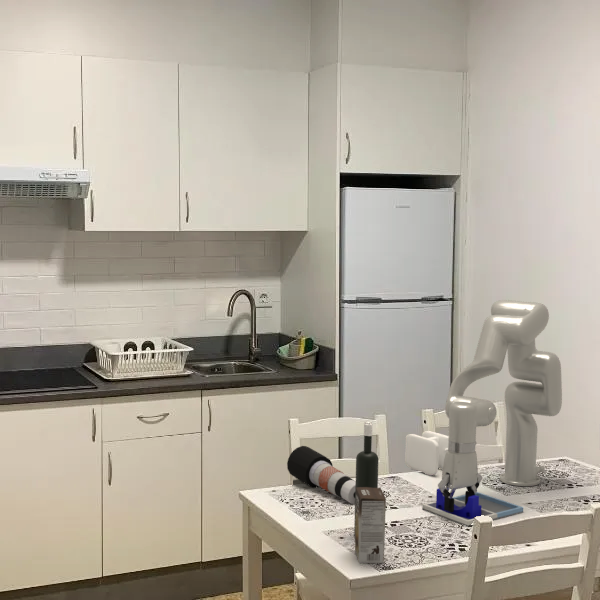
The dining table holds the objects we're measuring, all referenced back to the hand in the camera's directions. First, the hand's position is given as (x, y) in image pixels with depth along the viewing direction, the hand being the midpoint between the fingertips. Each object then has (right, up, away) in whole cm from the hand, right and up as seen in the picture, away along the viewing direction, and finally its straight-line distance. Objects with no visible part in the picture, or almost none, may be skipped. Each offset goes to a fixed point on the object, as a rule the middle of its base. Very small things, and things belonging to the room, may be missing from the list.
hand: (459, 508), depth 268 cm
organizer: (-2, +2, +46) cm, 46 cm away
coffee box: (-28, -5, -34) cm, 44 cm away
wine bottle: (-28, -3, -19) cm, 34 cm away
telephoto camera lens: (-35, 0, +18) cm, 39 cm away
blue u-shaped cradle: (0, -2, 0) cm, 2 cm away
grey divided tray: (+4, -1, +3) cm, 6 cm away
